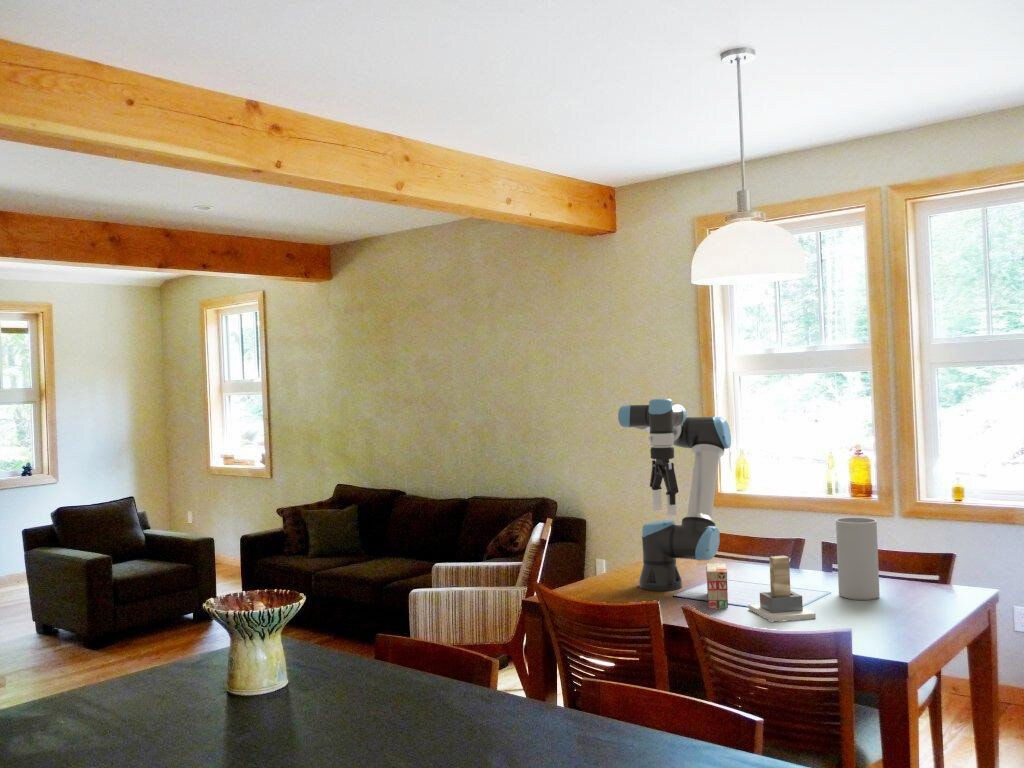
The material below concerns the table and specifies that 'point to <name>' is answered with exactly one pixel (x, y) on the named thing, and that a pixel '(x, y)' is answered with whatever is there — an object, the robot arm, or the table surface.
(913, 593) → the table surface
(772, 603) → the grey rectangular socket
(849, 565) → the cylinder vase
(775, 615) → the base board
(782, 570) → the ash slat
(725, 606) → the stack of blocks
